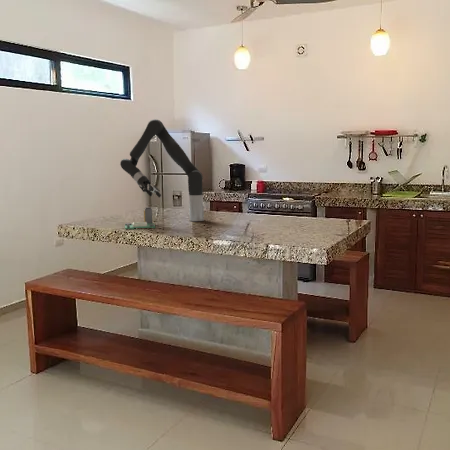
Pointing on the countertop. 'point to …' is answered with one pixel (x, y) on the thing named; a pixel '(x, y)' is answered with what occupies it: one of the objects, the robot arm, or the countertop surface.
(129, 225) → the mount board
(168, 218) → the countertop surface
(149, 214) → the plug
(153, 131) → the robot arm
